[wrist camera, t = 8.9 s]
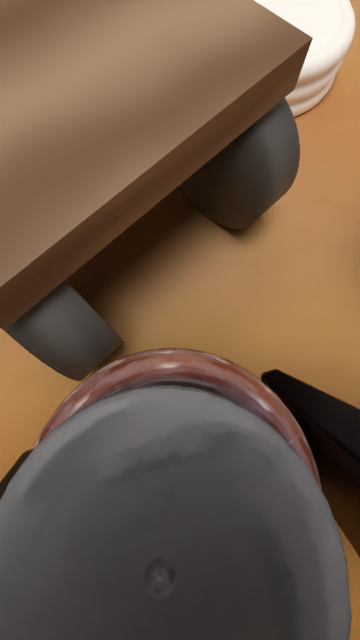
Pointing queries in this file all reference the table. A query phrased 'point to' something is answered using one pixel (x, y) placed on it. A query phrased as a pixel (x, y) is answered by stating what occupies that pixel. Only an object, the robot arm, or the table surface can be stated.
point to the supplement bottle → (171, 514)
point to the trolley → (129, 141)
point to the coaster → (317, 44)
